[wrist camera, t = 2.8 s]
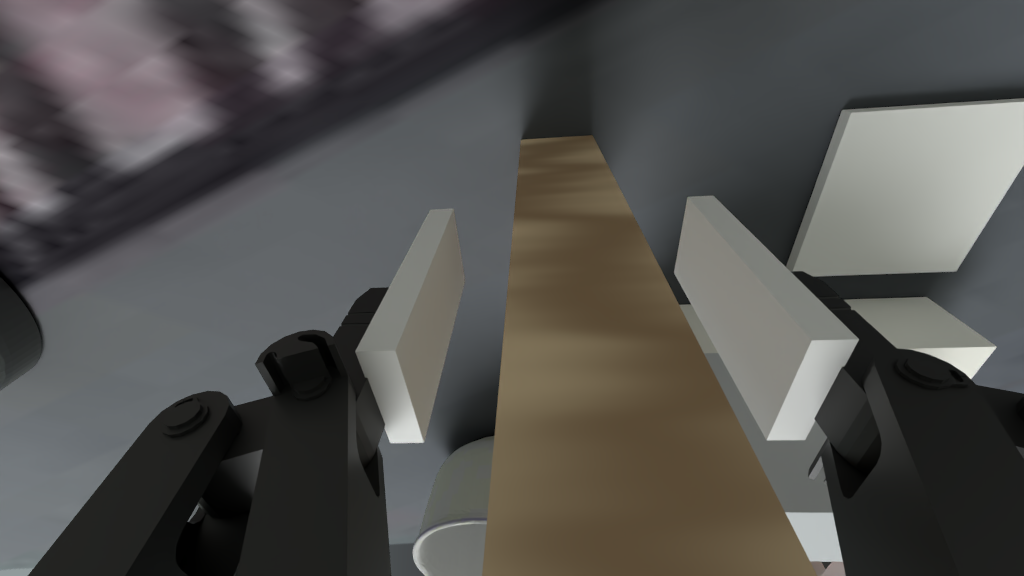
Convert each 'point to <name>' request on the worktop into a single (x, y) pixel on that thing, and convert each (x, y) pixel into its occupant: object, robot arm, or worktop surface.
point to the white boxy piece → (790, 460)
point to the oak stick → (613, 403)
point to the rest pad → (909, 187)
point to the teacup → (457, 514)
